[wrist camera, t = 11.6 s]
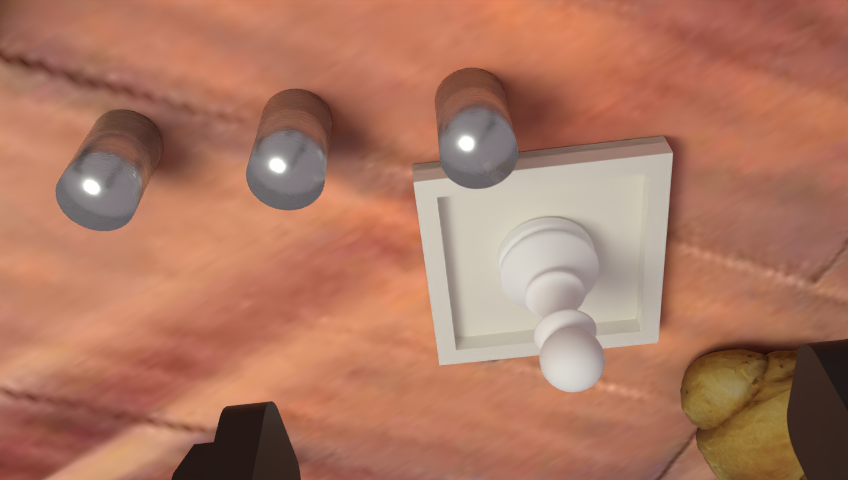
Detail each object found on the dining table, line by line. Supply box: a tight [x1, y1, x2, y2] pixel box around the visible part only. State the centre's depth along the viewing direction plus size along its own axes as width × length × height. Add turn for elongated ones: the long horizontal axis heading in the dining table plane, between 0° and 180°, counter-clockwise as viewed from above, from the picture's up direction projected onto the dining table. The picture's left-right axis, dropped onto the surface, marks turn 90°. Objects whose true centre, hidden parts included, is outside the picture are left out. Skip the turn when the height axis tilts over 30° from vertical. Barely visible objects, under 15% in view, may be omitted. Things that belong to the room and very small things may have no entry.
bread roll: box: [680, 349, 807, 480], centre depth 46 cm, size 13×10×8 cm
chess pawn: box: [497, 217, 605, 392], centre depth 38 cm, size 5×5×9 cm
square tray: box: [413, 136, 673, 365], centre depth 41 cm, size 12×12×2 cm
